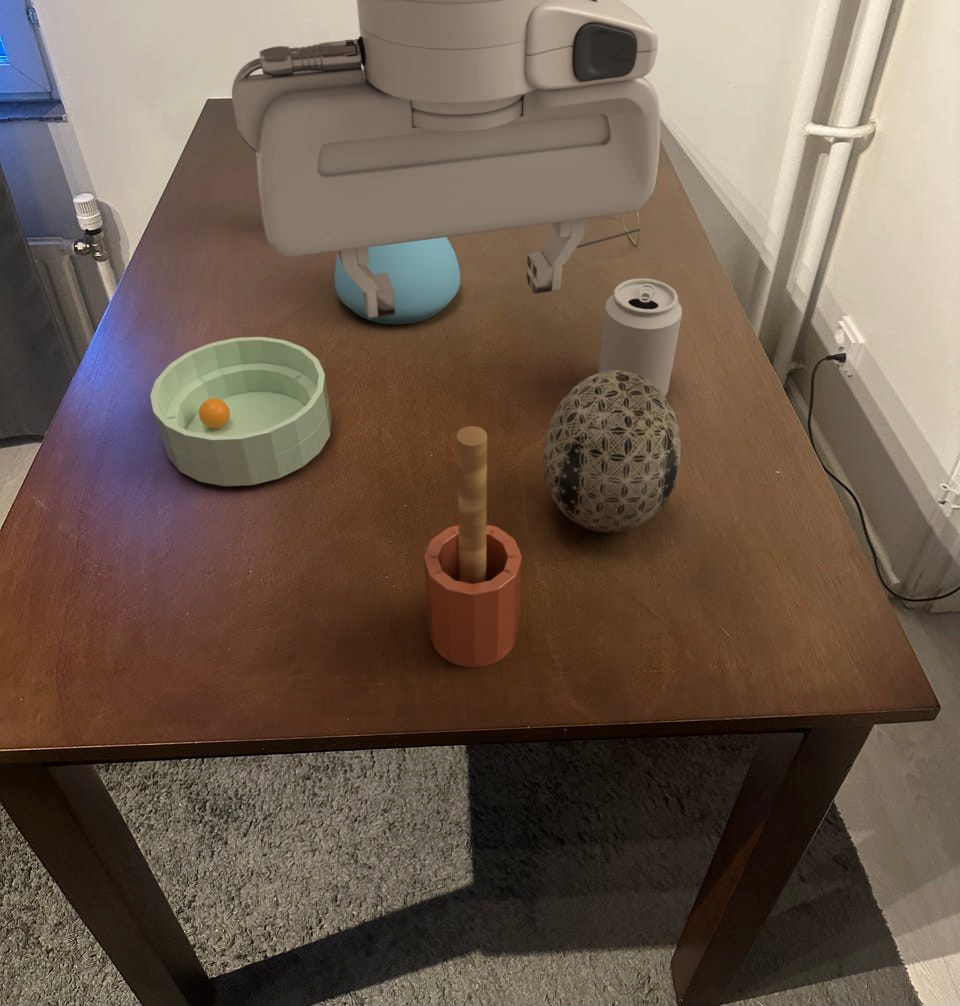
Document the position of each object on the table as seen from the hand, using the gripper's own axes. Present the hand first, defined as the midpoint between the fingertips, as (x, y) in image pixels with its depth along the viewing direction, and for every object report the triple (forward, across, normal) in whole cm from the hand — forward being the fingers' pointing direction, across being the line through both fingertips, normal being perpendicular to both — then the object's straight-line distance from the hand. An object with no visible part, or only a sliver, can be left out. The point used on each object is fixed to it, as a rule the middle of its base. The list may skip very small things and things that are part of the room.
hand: (462, 299), depth 50 cm
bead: (+29, -18, +32) cm, 46 cm away
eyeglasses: (+31, +30, +62) cm, 76 cm away
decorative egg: (+31, +15, +10) cm, 36 cm away
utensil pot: (+31, 0, 0) cm, 31 cm away
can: (+31, +25, +27) cm, 48 cm away
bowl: (+31, -15, +30) cm, 46 cm away
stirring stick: (+30, 0, 0) cm, 30 cm away
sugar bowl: (+31, +5, +52) cm, 61 cm away
